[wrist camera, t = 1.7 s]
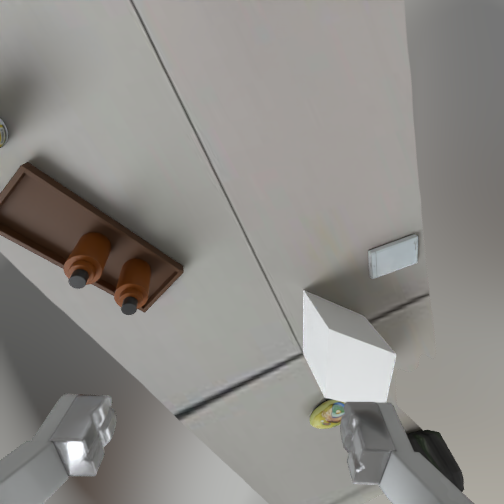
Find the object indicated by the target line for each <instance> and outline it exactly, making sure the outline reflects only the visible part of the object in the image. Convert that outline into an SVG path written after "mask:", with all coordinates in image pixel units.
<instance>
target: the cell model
mask: <svg viewBox="0 0 504 504" xmlns="http://www.w3.org/2000/svg"><path fill="white" fill-rule="evenodd" d="M344 405H345V402H341V401H337V400H333V399H330V400H328V401H326V402H324V403H323V404H321V405H320V406H319V407H317V408H316V409H315V410H314V411H313V412H312V414H311V416H310V424H311V425H312V426H314V427H315V428H321V429H327V428H332V427H335V426H337V425H339V424H340V423H341V417H342V416H343V415H345V412H344Z"/></svg>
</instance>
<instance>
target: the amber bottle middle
mask: <svg viewBox="0 0 504 504" xmlns="http://www.w3.org/2000/svg"><path fill="white" fill-rule="evenodd" d="M110 251H111V243H110V241H109V239H108V238H107V237H105V236H104V235H102V234H100V233H95V232H91V233H87V234H85V235H83V236H82V237H81V238H80V240H79V241H78V243H77V244H76V246H75V248H74V249H73V251H72V253H71V254H70V256H69V257H68V259H67V261H66V262H65V264H64V273H65V275H66V276H67V277H68V278H69V284H70V286H72V287H73V288H83V287H84V286H85V285H87V284H92V283H94V282H96V281H97V280H99V278H100V277H101V275H102V272H103V270H104V267H105V264H106V262H107V259H108V256H109V254H110Z"/></svg>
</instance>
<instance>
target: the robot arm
mask: <svg viewBox="0 0 504 504" xmlns="http://www.w3.org/2000/svg"><path fill="white" fill-rule="evenodd" d="M111 405H112V399H111V396H103V395H82V394H64V395H63V396H62V397H61V398H60V399H59V400H58V402H57V403H56V405H55V406H54V408H53V409H52V411H51V412H50V414H49V415H48V417H47V418H46V420H45V421H44V423H43V424H42V426H41V427H40V429H39V430H38V431H37V433H36V434H35V436H34V437H33V439H32V441H26V442H25V443H23V444H22V445H21V446H19V447H18V448H17V449H15V450H14V451H12V452H11V453H10V454H8V455H7V456H5V457H4V458H3V459H1V460H0V504H44V503H45V501H47V500H48V498H49V497H50V496H51V495H52V494H53V493H54V492H55V491H56V490H57V489H58V488H59V487H60V486H61V485H62V484H63V483H64V482H65V481H66V480H67V479H68V478H69V477H68V476H95V475H96V473H97V470H98V468H99V466H100V463H101V461H102V459H103V457H104V450H103V447H104V446H105V445H106V444H107V443H108V442H109V441H110V440H111V438H112V436H113V433H114V430H115V426H116V413H115V410H113V409H112V408H111ZM344 412H345V415H343V416H342V417H341V423H340V432H341V439H342V443H343V447H344V448H345V449H346V450H347V452H348V453H349V455H348V459H347V463H348V467H349V471H350V475H351V479H352V483H353V484H370V485H379V487H380V489H381V490H382V491H383V492H384V494H385V495H386V496H387V498H388V499H389V500H390V501H391V503H392V504H474V503H473V502H472V501H471V500H470V499H468V498H467V497H466V496H465V495H464V494H463V493H462V492H461V491H460V490H459V489H458V488H457V487H456V486H455V485H454V484H452V483H451V482H450V481H449V480H448V479H447V478H446V477H445V476H444V475H443V474H442V473H441V472H440V471H439V470H437V469H436V468H435V467H434V466H433V465H432V464H431V463H430V462H429V461H428V460H427V459H426V458H425V457H424V456H422V455H421V454H420V453H419V452H414V450H413V448H412V446H411V444H410V441H409V439H408V437H407V435H406V432H405V430H404V428H403V426H402V424H401V421H400V419H399V417H398V415H397V413H396V410H395V408H394V406H393V405H392V404H391V403H388V402H346V403H345V405H344Z"/></svg>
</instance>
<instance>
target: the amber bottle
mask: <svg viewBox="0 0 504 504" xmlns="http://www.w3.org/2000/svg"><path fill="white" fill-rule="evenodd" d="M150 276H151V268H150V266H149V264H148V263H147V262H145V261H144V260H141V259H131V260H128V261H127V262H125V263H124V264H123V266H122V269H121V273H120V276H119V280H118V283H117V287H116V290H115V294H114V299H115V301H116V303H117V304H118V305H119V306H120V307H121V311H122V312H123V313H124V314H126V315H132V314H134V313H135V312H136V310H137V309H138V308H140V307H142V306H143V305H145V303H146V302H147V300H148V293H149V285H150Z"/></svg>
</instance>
